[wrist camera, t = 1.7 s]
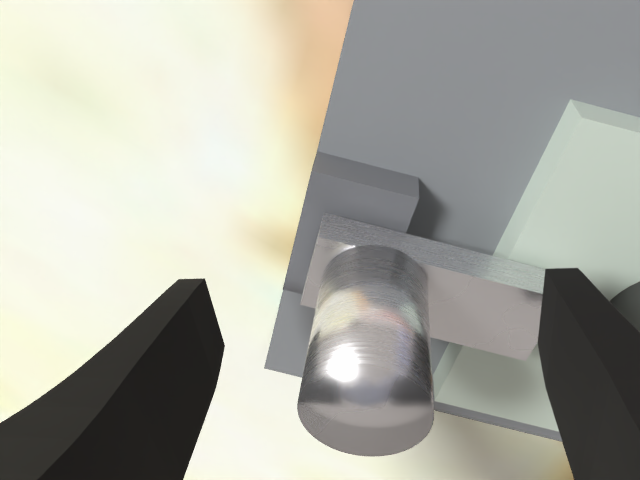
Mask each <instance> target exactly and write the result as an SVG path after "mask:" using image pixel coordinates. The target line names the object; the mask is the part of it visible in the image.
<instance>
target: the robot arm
mask: <svg viewBox="0 0 640 480" xmlns="http://www.w3.org/2000/svg"><path fill="white" fill-rule="evenodd" d="M224 347H225V345H224V342H223V338H222V335H221V332H220V328H219V325H218V322H217V318H216V315H215V311H214V308H213V305H212V301H211V298H210V295H209V291H208V288H207V284H206V281H205V279H179V280H178V281H176V282H175V283H174V284H173V285H172V286H171V287H170V288H168V289H167V290H166V291H165V292H164V293H163V294H162V295H161V296H160V297H159V298H158V299H157V300H155V301H154V302H153V303H152V304H151V305H150V306H149V307H148V308H147V309H146V310H145V311H144V312H143V313H142V314H141V315H139V316H138V317H137V318H136V319H135V320H134V321H133V322H132V323H131V324H130V325H129V326H127V327H126V328H125V329H124V330H123V331H122V332H121V333H120V334H119V335H118V336H117V337H115V338H114V339H113V340H112V341H111V342H110V343H109V344H107V345H106V346H105V347H104V348H103V349H101V350H100V351H99V352H98V353H97V354H95V355H94V356H93V357H92V358H91V359H90V360H88V361H87V362H86V363H85V364H84V365H82V366H81V367H80V368H79V369H78V370H76V371H75V372H74V373H73V374H71V375H70V376H69V377H67V378H66V379H65V380H63V381H62V382H61V383H59V384H58V385H57V386H55V387H54V388H53V389H51V390H50V391H48V392H47V393H46V394H44V395H43V396H41V397H40V398H39V399H37V400H36V401H34V402H33V403H31V404H30V405H28V406H27V407H25V408H24V409H22V410H20V411H19V412H17V413H16V414H14V415H13V416H11V417H9V418H8V419H6V420H5V421H3V422H1V423H0V480H183V478H184V475H185V472H186V470H187V467H188V464H189V461H190V459H191V456H192V453H193V450H194V448H195V445H196V442H197V439H198V437H199V434H200V431H201V428H202V426H203V423H204V420H205V417H206V414H207V412H208V409H209V406H210V403H211V400H212V398H213V395H214V392H215V389H216V385H217V381H218V376H219V372H220V368H221V362H222V357H223V352H224ZM538 349H539V355H540V360H541V366H542V372H543V377H544V382H545V387H546V391H547V394H548V397H549V401H550V404H551V407H552V410H553V414H554V417H555V420H556V423H557V426H558V429H559V433H560V436H561V439H562V442H563V445H564V448H565V451H566V455H567V458H568V461H569V464H570V467H571V470H572V473H573V477H574V480H640V332H639V331H638V330H637V329H636V328H635V327H634V326H633V325H632V324H631V323H630V322H629V321H628V320H627V319H626V318H625V317H624V316H623V315H622V314H621V313H620V312H619V311H618V310H617V309H616V308H615V307H614V306H613V305H612V303H611V302H610V301H609V300H608V299H607V298H606V297H605V296H604V295H603V294H602V293H601V292H600V291H599V290H598V289H597V288H596V286H595V285H594V284H593V283H592V282H591V281H590V280H589V279H588V278H587V277H586V276H585V275H584V274H583V272H581V271H580V270H579V269H578V268H554V269H545V277H544V287H543V296H542V306H541V315H540V325H539V334H538Z"/></svg>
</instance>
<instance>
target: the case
mask: <svg viewBox="0 0 640 480" xmlns="http://www.w3.org/2000/svg"><path fill="white" fill-rule="evenodd" d="M570 99H572V100H575V101H579V102H583V103H587V104H591V105H594V106H598V107H602V108H606V109H610V110H613V111H617V112H621V113H625V114H628V115H632V116H636V117H640V0H354V2H353V6H352V10H351V14H350V19H349V23H348V27H347V31H346V35H345V39H344V43H343V47H342V51H341V55H340V60H339V64H338V68H337V72H336V76H335V80H334V84H333V88H332V92H331V96H330V101H329V105H328V109H327V113H326V117H325V121H324V125H323V129H322V133H321V137H320V142H319V146H318V150H317V154H316V157H315V161H314V164H313V168H312V171H311V176H310V180H309V184H308V188H307V192H306V196H305V200H304V204H303V209H302V213H301V217H300V221H299V225H298V229H297V233H296V237H295V241H294V246H293V250H292V254H291V258H290V262H289V266H288V270H287V274H286V278H285V283H284V287H283V293H282V297H281V301H280V306H279V310H278V314H277V318H276V322H275V326H274V330H273V334H272V338H271V342H270V347H269V351H268V355H267V359H266V363H265V367H264V368H265V369H269V370H274V371H278V372H282V373H286V374H290V375H294V376H298V377H303V372H304V367H305V362H306V356H307V351H308V346H309V341H310V335H311V330H312V325H313V320H314V314H315V308H311V307H307V306H303V305H300V303H301V299H302V294H303V290H304V285H305V281H306V277H307V273H308V269H309V266H310V262H311V258H312V255H313V251H314V247H315V244H316V240H317V236H318V232H319V229H320V225H321V221H322V218H323V214H324V213H328V214H332V215H336V216H340V217H343V218H347V219H351V220H355V221H359V222H363V223H367V224H371V225H375V226H379V227H383V228H387V229H391V230H395V231H398V232H402V233H406V234H410V235H414V236H418V237H422V238H426V239H430V240H434V241H438V242H442V243H446V244H449V245H453V246H457V247H461V248H465V249H469V250H473V251H477V252H481V253H485V254H489V255H493V254H494V252H495V250H496V248H497V246H498V244H499V242H500V240H501V238H502V235H503V233H504V231H505V229H506V227H507V225H508V223H509V221H510V219H511V217H512V215H513V213H514V211H515V209H516V207H517V205H518V203H519V201H520V199H521V197H522V195H523V193H524V191H525V189H526V187H527V185H528V183H529V181H530V179H531V177H532V175H533V173H534V171H535V169H536V167H537V165H538V163H539V161H540V159H541V157H542V155H543V153H544V151H545V149H546V147H547V145H548V143H549V141H550V139H551V137H552V135H553V133H554V131H555V129H556V127H557V125H558V123H559V121H560V119H561V117H562V115H563V113H564V111H565V109H566V107H567V105H568V103H569V101H570ZM430 344H431V366H432V387H433V408H434V410H436V411H440V412H444V413H448V414H452V415H456V416H460V417H464V418H468V419H472V420H477V421H481V422H485V423H489V424H493V425H497V426H501V427H505V428H509V429H513V430H517V431H521V432H525V433H529V434H533V435H537V436H541V437H546V438H550V439H554V440H558V441H562V439H561V436H560V433H559V432H558V431H554V430H550V429H546V428H542V427H538V426H534V425H530V424H526V423H521V422H517V421H513V420H509V419H505V418H501V417H497V416H493V415H489V414H485V413H481V412H477V411H473V410H469V409H465V408H461V407H457V406H453V405H449V404H445V403H440V402H436V401H434V384H433V374H434V372H435V370H436V368H437V366H438V364H439V362H440V360H441V358H442V356H443V354H444V352H445V350H446V348H447V346H448V344H449V342H447V341H443V340H439V339H435V338H431V337H430Z"/></svg>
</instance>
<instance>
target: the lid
mask: <svg viewBox="0 0 640 480" xmlns="http://www.w3.org/2000/svg"><path fill="white" fill-rule="evenodd" d="M493 256H497V257H501V258H504V259H508V260H512V261H516V262H520V263H524V264H528V265H532V266H536V267H540V268H544V269H554V268H578V269H579V270H580V271H581V272H583V274H584V275H585V276H586V277H587V278H588V279H589V280H590V281H591V282H592V283H593V284H594V285H595V286H596V288H597V289H598V290H599V291H600V292H601V293H602V294H603V295H604V296H605V297H606V298H607V299H608V300H609V301H610V302H611V303H612V305H613V306H614V307H615V308H616V309H617V310H618V311H619V312H620V313H621V314H622V315H623V316H624V317H625V318H626V319H627V320H628V321H629V322H630V323H631V324H632V325H633V326H634V327H635V328H636V329H637V330H638V331H639V332H640V117H636V116H632V115H628V114H625V113H621V112H617V111H613V110H610V109H606V108H602V107H598V106H594V105H591V104H587V103H583V102H579V101H575V100H572V99H570V101H569V103H568V105H567V107H566V109H565V111H564V113H563V115H562V117H561V119H560V121H559V123H558V125H557V127H556V129H555V131H554V133H553V135H552V137H551V139H550V141H549V143H548V145H547V147H546V149H545V151H544V153H543V155H542V157H541V159H540V161H539V163H538V165H537V167H536V169H535V171H534V173H533V175H532V177H531V179H530V181H529V183H528V185H527V187H526V189H525V191H524V193H523V195H522V197H521V199H520V201H519V203H518V205H517V207H516V209H515V211H514V213H513V215H512V217H511V219H510V221H509V223H508V225H507V227H506V229H505V231H504V233H503V235H502V238H501V240H500V242H499V244H498V246H497V248H496V250H495V252H494V254H493ZM433 384H434V401H436V402H440V403H445V404H449V405H453V406H457V407H461V408H465V409H469V410H473V411H477V412H481V413H485V414H489V415H493V416H497V417H501V418H505V419H509V420H513V421H517V422H521V423H526V424H530V425H534V426H538V427H542V428H546V429H550V430H554V431H558V432H559V429H558V426H557V423H556V420H555V417H554V414H553V410H552V407H551V404H550V401H549V397H548V394H547V391H546V387H545V382H544V377H543V372H542V366H541V360H540V355H539V349H538V342H537V344H536V345H535V347H534V349H533V350H532V352H531V353H530V355H529V357H528V358H527V360H526V361H524V360H520V359H516V358H512V357H508V356H504V355H500V354H496V353H492V352H488V351H484V350H480V349H476V348H472V347H468V346H463V345H459V344H455V343H451V342H449V344H448V346H447V348H446V350H445V352H444V354H443V356H442V358H441V360H440V362H439V364H438V366H437V368H436V370H435V372H434V374H433Z"/></svg>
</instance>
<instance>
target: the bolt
mask: <svg viewBox="0 0 640 480" xmlns="http://www.w3.org/2000/svg"><path fill="white" fill-rule="evenodd" d="M544 277H545V269H544V268H540V267H536V266H532V265H528V264H524V263H520V262H516V261H512V260H508V259H504V258H501V257H497V256H493V255H489V254H485V253H481V252H477V251H473V250H469V249H465V248H461V247H457V246H453V245H449V244H446V243H442V242H438V241H434V240H430V239H426V238H422V237H418V236H414V235H410V234H406V233H402V232H398V231H395V230H391V229H387V228H383V227H379V226H375V225H371V224H367V223H363V222H359V221H355V220H351V219H347V218H343V217H340V216H336V215H332V214H328V213H324V214H323V218H322V221H321V225H320V229H319V232H318V236H317V240H316V244H315V247H314V251H313V255H312V258H311V262H310V266H309V269H308V273H307V277H306V281H305V285H304V290H303V294H302V299H301V303H300V305H303V306H307V307H311V308H315V314H314V320H313V325H312V330H311V335H310V341H309V346H308V351H307V356H306V362H305V367H304V372H303V377H302V383H301V388H300V393H299V398H298V404H297V409H298V415H299V418H300V420H301V422H302V424H303V426H304V427H305V428H306V429H307V431H308V432H309V433H310V434H311V435H312V436H313V437H315V438H316V439H317V440H319V441H320V442H322V443H323V444H325V445H327V446H329V447H331V448H333V449H336V450H338V451H341V452H345V453H348V454H353V455H360V456H385V455H391V454H396V453H399V452H402V451H405V450H407V449H410V448H412V447H413V446H415V445H417V444H418V443H419V442H421V441H422V440H423V439H424V438H425V437H426V436H427V434H428V433H429V431H430V429H431V427H432V425H433V420H434V408H433V387H432V366H431V344H430V337H431V338H435V339H439V340H443V341H447V342H451V343H455V344H459V345H463V346H468V347H472V348H476V349H480V350H484V351H488V352H492V353H496V354H500V355H504V356H508V357H512V358H516V359H520V360H524V361H526V360H527V358H528V357H529V355H530V353H531V352H532V350H533V349H534V347H535V345H536V344H537V342H538V334H539V325H540V315H541V306H542V296H543V287H544Z"/></svg>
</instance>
